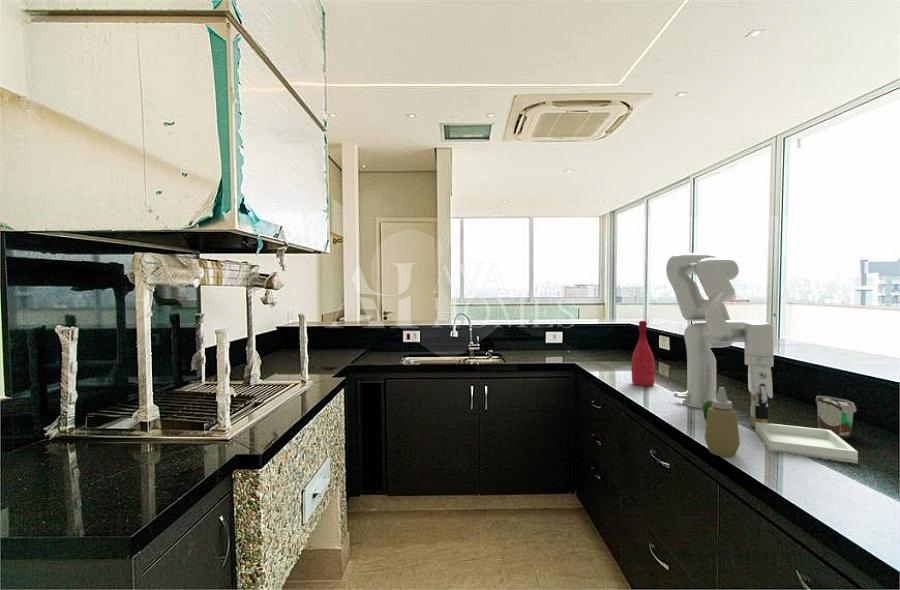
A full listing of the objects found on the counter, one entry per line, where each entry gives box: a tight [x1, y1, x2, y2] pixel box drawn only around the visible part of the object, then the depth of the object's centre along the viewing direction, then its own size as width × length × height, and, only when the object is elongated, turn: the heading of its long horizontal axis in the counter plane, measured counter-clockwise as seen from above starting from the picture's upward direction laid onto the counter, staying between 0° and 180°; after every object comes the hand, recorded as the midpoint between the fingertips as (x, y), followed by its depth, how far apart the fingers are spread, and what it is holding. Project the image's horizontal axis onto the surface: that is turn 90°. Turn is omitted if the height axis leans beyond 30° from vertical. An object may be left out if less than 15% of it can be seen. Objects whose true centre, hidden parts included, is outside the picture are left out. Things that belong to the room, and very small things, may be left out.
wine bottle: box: [631, 320, 656, 387], centre depth 194 cm, size 10×10×30 cm
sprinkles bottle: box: [749, 389, 768, 428], centre depth 133 cm, size 5×5×14 cm
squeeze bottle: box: [704, 386, 741, 458], centre depth 112 cm, size 8×8×18 cm
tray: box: [754, 422, 859, 464], centre depth 117 cm, size 18×18×3 cm
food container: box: [815, 395, 858, 439], centre depth 127 cm, size 12×6×10 cm, turn 168°
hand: (758, 415), depth 133 cm, fingers open, 6 cm apart
